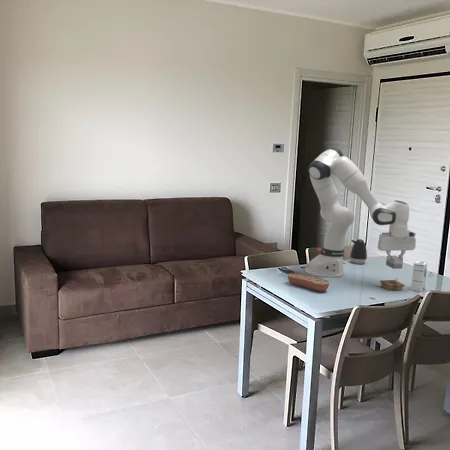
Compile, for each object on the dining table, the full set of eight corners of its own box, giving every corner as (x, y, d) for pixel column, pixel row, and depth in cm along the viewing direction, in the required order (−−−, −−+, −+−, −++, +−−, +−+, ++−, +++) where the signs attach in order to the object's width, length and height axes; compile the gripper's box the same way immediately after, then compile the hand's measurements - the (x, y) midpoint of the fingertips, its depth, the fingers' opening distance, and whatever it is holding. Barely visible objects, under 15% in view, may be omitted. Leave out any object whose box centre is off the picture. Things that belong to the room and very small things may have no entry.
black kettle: (348, 260, 317) (350, 236, 315) (364, 261, 316) (367, 238, 314) (350, 264, 307) (352, 240, 305) (367, 265, 307) (370, 241, 304)
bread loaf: (283, 284, 258) (284, 275, 258) (294, 280, 266) (294, 271, 265) (322, 295, 244) (323, 285, 243) (332, 291, 251) (333, 281, 251)
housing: (393, 268, 255) (394, 259, 254) (385, 264, 262) (386, 255, 261) (402, 268, 257) (403, 259, 256) (394, 264, 263) (395, 255, 262)
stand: (388, 291, 256) (389, 285, 255) (379, 285, 264) (379, 280, 264) (404, 290, 258) (404, 284, 258) (394, 285, 267) (394, 279, 266)
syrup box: (422, 291, 258) (425, 264, 255) (410, 289, 261) (413, 262, 258) (424, 289, 263) (427, 262, 260) (412, 286, 266) (416, 260, 263)
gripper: (383, 233, 250) (380, 260, 253) (418, 233, 255) (415, 259, 258) (376, 231, 256) (373, 257, 259) (411, 231, 261) (408, 256, 264)
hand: (395, 258), depth 258 cm, fingers closed on housing, 5 cm apart
